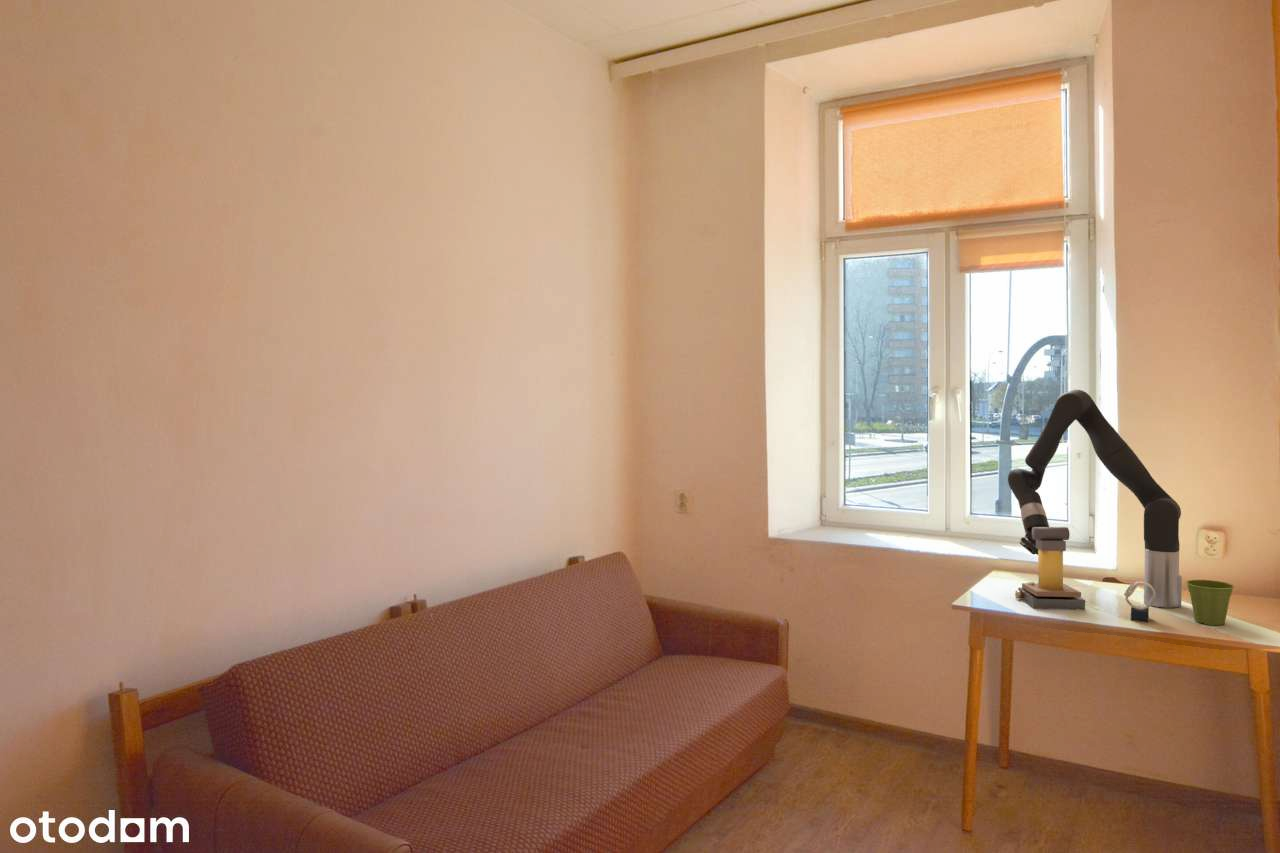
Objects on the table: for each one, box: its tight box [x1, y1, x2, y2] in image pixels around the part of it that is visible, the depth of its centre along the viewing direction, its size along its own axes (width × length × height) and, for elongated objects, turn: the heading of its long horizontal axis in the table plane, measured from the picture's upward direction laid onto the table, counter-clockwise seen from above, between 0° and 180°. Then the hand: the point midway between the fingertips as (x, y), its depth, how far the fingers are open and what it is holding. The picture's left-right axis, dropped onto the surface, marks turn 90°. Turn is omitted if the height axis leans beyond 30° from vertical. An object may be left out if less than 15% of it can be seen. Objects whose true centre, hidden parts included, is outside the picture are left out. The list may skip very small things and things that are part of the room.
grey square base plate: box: [1014, 587, 1086, 611], centre depth 270 cm, size 18×17×3 cm
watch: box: [1123, 580, 1156, 623], centre depth 250 cm, size 6×8×11 cm
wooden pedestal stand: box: [1021, 526, 1082, 598], centre depth 269 cm, size 13×14×20 cm
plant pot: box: [1185, 579, 1236, 626], centre depth 245 cm, size 12×12×11 cm
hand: (1046, 564), depth 273 cm, fingers closed
